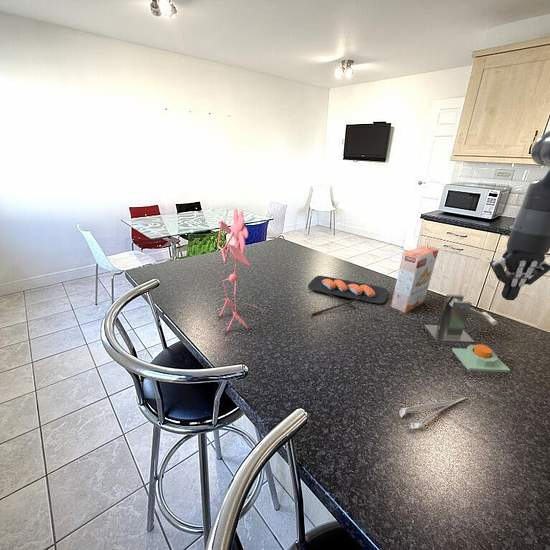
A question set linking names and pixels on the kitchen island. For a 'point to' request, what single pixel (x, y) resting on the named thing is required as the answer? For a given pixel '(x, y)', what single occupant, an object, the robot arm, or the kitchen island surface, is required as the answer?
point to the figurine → (239, 234)
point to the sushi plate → (348, 291)
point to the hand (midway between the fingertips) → (507, 298)
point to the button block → (479, 360)
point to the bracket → (452, 321)
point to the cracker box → (414, 278)
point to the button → (482, 351)
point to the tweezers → (428, 406)
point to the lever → (478, 313)
